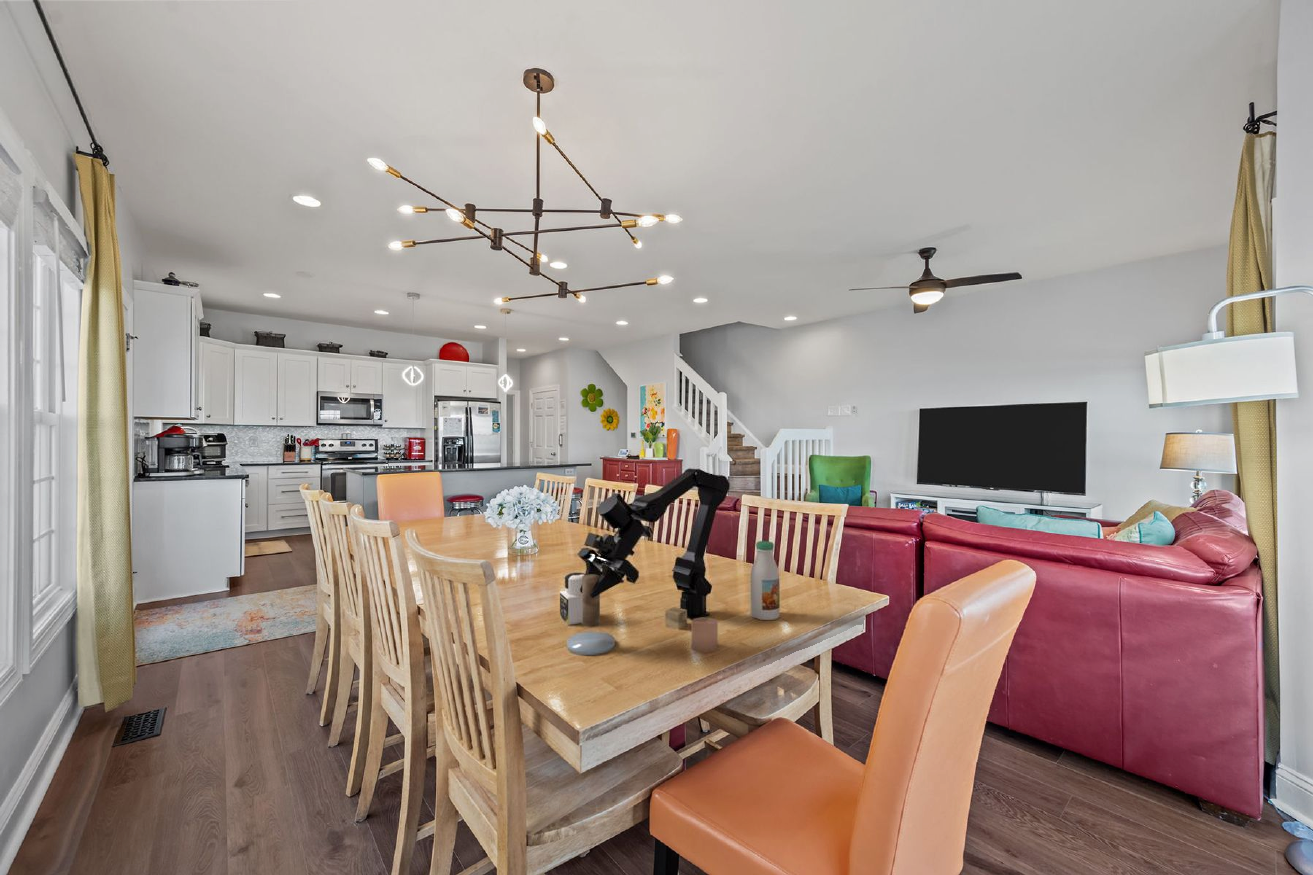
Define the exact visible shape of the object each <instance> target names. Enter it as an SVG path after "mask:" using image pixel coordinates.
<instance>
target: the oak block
mask: <svg viewBox="0 0 1313 875" xmlns="http://www.w3.org/2000/svg"><path fill="white" fill-rule="evenodd" d="M664 615H665V616H664V619H665V620H664V624H665V627H666V628H671V629H675V630H677V629H678V630H681V629H682V628H684V627H686V626H687V625H688V617H687V610H685V609H681V608H678V607H676V606H674V607H671V608H669V609H667V610H665V613H664Z"/></svg>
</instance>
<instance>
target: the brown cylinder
mask: <svg viewBox="0 0 1313 875" xmlns="http://www.w3.org/2000/svg"><path fill="white" fill-rule="evenodd" d="M599 578H600V576H599V575H595V574H589V575H584V576H583V577H582V605H583V623H582V626H583V627H587V628H592V627H594V628H595V627H597V626H599V625H600V624H601V608H600V607H601V601H600V600H601V599H600V598H601V594H599V595H597V596H596V597H594V598H592V597H591V596H590V593H591V591H592V589H593V588H594V586H595V584H596V583H597V581H598V580H599Z"/></svg>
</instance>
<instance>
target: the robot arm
mask: <svg viewBox="0 0 1313 875" xmlns="http://www.w3.org/2000/svg"><path fill="white" fill-rule="evenodd" d="M693 488H697V496H698V500H699V505H698V509H697V512H696V517H695V519H694V523H693V527H692V530H691V533H690V538H689V540H688V544H687V546H686V550H685V553H684V554H683V555H682V556H677V557H676V558H675V561H674V566H673V568H672V570H671V572H672V579H673V581H674V583H675V585H676V589H677V590H678V591H681V594H680V595H681V597H680V601H679V602H680V603H679V605H680V606H679V607H680V608H681V609H685V610H687V619H690V620H693V619H695V618H701V617H707V616H710V615H711V612H708V611H707V596H708V595H709V594H710V595H711V593H712V589H713V585H712V584H711V583H710V581H709V580H708V579H707V578H706V577H705V576H706V572H707V569H706V568H707V567H706V563H705V560H704V557H705V553H706V550H707V546H708V542H709V538H710V536H711V533H712V528H713V524H714V522H715V521H714V520H715V517H716V513H717V511H718V510H717V509H718V508H719V507H720V506H721V504H722V503H723V502H724V501H725V500H726V497H727V496H728V494H729V491H730V482H729V479H728V478H727V477H726V475H720V474H713V473H710V472H706V471H704V470H702V469H700V468H691V467H690V468H689V467H688V468H687V469H685V470H684V472H682V473H681V474H679V475H678V476H677V477H675V478H674V479H672V480H671V481H670V482H668V483H667V484H666V485H665V484H664V486H663V487H661V488H660V489H658V490H656V491H654V492H651V493H647V494H646V493H645V494H644V495H641V496H639V497H636V498H635V499H634V500H633V501H632V502H631V503H627V502H626V501H625V500H624V497H623V496H622V495H621V494H620V493H616V492H614V493H613V494H612V495H611V496H609V497H607V498H605V499H604V500H603V501H601V502H600V503H599V504H598V506H597V509H596V512H597V514H598V515H599V516H600V517H601V519H603V520H604V521H605V522H606V523H607V525H609V526H610V527H611V529H613V530H615V529H617V531H616V532H615V533H614V535H612V534H610V533H604V534H603V535H600V534H596V533H592V532H588V534H587V536H586V538H585V541H584V544H583V545H584V547H582V548H581V549H580V550H579V551H578V553H577V556H578V557H579V558H580V559H581V561H583V562H584V563H585V567H586V568H585V569H586V570H585V573H584V574H585V575H589V574H595V575H599V576H600V578H599V580H598V581H597V583H596V584H595V586H594V588H593V589H592V591H591V593H590V596H591V597H592V598H594V597H596V596H597V595H599V594H600V595H601V594H602V593H604V592H607V591H608V590H609V589H611V588H612V587H615V586H618V585H619V584H623V583H624V582H625V580H626V582H629V583H631V584H633V585H635V584H636V582H637V581H638V579H639V578H640V572H639V570H638V569H637V568H636V567H635V566H634V565H633V563H631V562H630V561H629V560H628V557H629V556H631V557H632V556H633V555H635V551H634V548H635V547H636V545H637V544H638V542H639V541H640V540H641V538H642V537H645V538H651V537H652V536H651V535H652V534H651V531H650V528H651V527H650V525H649V526H648V525H644V524H643V522H647V523H651V524H653V523H656V522H658V521H659V520H660V519H661V518H662V517H663V516H664V515H665V514H666V512H667V509H668V507H669V506H670V505H671V504H672V503H673V502H675V501H676V500H678V499H679V498H681V497H682V496H683V495H685V494H686V493H687V492H689V491H690V490H692V489H693ZM589 547H590V548H589ZM592 548H593V549H592ZM594 549H595V550H594ZM624 578H626V579H625V580H624ZM580 592H581V593H582V585H581V588H580Z"/></svg>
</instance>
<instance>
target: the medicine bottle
mask: <svg viewBox="0 0 1313 875" xmlns="http://www.w3.org/2000/svg"><path fill="white" fill-rule="evenodd" d="M584 575H585V573H584V572H570V573H568V574H566V575H565V576H564V590H560V591H559V618H561V619H562V621H563V622H564V623H565V624H566V625H568V626H571V625H577V624H581V623H582V624H583V605H582V593H581V592H580V588H581V585H582V577H583V576H584Z"/></svg>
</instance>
